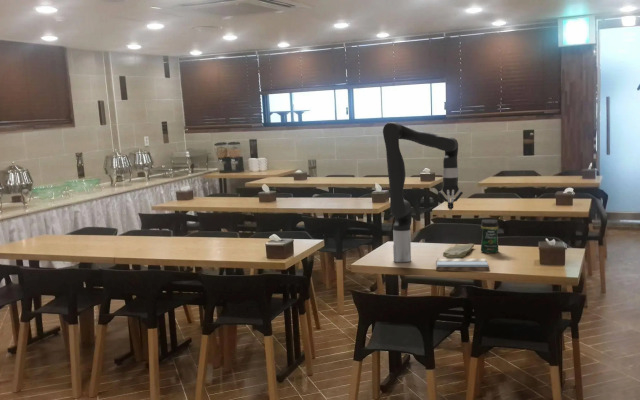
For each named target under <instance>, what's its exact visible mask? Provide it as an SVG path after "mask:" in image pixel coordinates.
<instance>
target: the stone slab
mask: <svg viewBox="0 0 640 400" xmlns="http://www.w3.org/2000/svg"><path fill="white" fill-rule="evenodd" d="M474 247H475V243H465V244H462V243H461V244H460V243H457V244H455V245H454V246H451V247H449V248H448V249H446V250H444V251H443V253H442V256H443V257H445V258H446V259H463V258H465V257H466V256H467V254H469V253H470V252H471V251H472V249H473V248H474Z"/></svg>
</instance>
